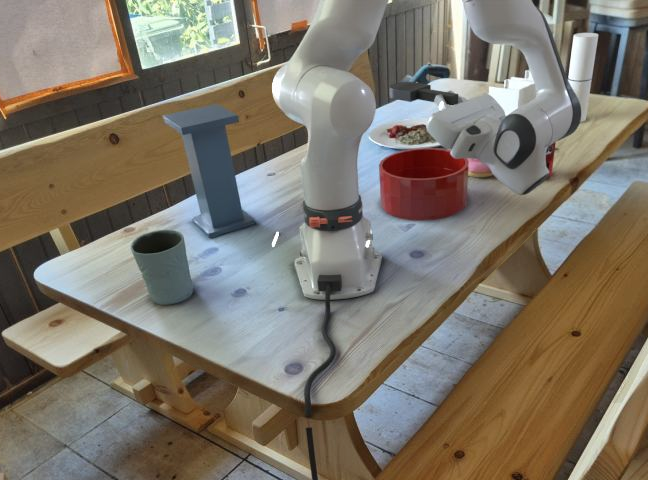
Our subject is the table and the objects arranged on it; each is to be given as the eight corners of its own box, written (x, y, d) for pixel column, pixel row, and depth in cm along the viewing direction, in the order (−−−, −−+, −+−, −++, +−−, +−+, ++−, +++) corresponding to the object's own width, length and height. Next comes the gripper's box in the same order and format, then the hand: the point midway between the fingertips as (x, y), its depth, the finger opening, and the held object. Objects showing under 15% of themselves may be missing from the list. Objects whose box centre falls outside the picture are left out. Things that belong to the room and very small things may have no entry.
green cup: (178, 276, 128) (163, 225, 121) (208, 290, 122) (194, 237, 115) (137, 298, 122) (119, 245, 115) (167, 313, 116) (150, 258, 109)
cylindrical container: (562, 122, 195) (573, 37, 180) (563, 115, 200) (573, 33, 185) (585, 122, 193) (598, 36, 178) (585, 116, 198) (598, 32, 184)
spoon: (465, 100, 132) (465, 90, 131) (445, 108, 129) (445, 97, 127) (403, 90, 144) (403, 80, 142) (383, 97, 140) (383, 87, 139)
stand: (237, 207, 156) (216, 103, 140) (258, 224, 147) (238, 115, 131) (189, 221, 151) (162, 115, 135) (208, 239, 142) (181, 128, 126)
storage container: (516, 125, 195) (519, 90, 189) (487, 121, 201) (488, 86, 195) (552, 106, 210) (556, 73, 203) (524, 102, 216) (526, 70, 209)
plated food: (462, 153, 178) (462, 141, 176) (362, 154, 183) (362, 143, 181) (464, 123, 201) (464, 112, 199) (376, 125, 206) (375, 114, 204)
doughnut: (489, 182, 158) (490, 166, 156) (453, 175, 164) (453, 160, 161) (508, 168, 165) (509, 154, 163) (473, 162, 171) (473, 148, 168)
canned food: (518, 179, 159) (521, 137, 152) (526, 169, 164) (530, 128, 158) (547, 182, 155) (552, 140, 149) (554, 172, 161) (559, 130, 154)
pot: (474, 216, 142) (476, 175, 136) (384, 223, 142) (382, 183, 136) (458, 182, 159) (460, 145, 154) (378, 189, 160) (376, 152, 154)
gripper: (519, 112, 132) (477, 72, 135) (461, 137, 121) (416, 94, 124) (506, 134, 137) (465, 96, 140) (449, 161, 126) (406, 118, 129)
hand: (442, 95), depth 132 cm, fingers closed on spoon, 2 cm apart
